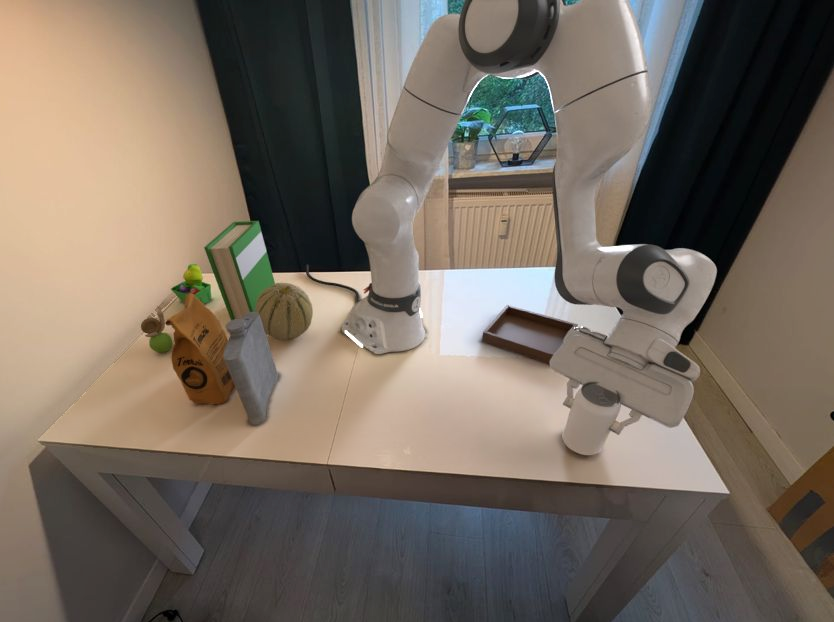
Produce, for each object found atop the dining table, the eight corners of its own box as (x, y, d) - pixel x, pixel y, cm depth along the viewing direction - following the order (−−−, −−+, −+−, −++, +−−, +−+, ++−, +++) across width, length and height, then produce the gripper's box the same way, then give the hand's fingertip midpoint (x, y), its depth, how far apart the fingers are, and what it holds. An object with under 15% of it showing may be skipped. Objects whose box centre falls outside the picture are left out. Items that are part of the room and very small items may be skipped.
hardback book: (258, 327, 106) (232, 246, 91) (233, 327, 107) (204, 247, 93) (278, 295, 120) (258, 220, 105) (256, 295, 121) (233, 221, 106)
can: (594, 427, 69) (614, 379, 62) (607, 457, 64) (631, 408, 57) (556, 427, 70) (572, 379, 63) (567, 456, 65) (586, 408, 58)
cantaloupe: (267, 322, 108) (252, 274, 99) (317, 316, 108) (308, 268, 99) (259, 354, 96) (241, 303, 87) (316, 347, 97) (305, 297, 87)
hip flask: (263, 424, 77) (233, 348, 65) (244, 425, 78) (210, 349, 65) (279, 373, 90) (257, 300, 78) (263, 373, 90) (238, 302, 78)
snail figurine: (182, 347, 102) (164, 309, 94) (159, 359, 98) (138, 321, 91) (174, 340, 105) (155, 303, 97) (151, 351, 101) (130, 314, 94)
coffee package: (184, 407, 83) (139, 325, 70) (208, 369, 93) (171, 291, 80) (227, 407, 82) (189, 324, 69) (246, 369, 92) (216, 290, 78)
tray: (481, 341, 93) (482, 332, 91) (505, 313, 102) (506, 304, 100) (555, 366, 84) (558, 356, 82) (575, 333, 92) (578, 324, 91)
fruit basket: (175, 302, 122) (160, 270, 115) (197, 290, 128) (185, 259, 121) (198, 310, 117) (184, 277, 110) (220, 297, 122) (208, 265, 115)
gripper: (570, 317, 66) (528, 385, 67) (713, 373, 53) (657, 455, 54) (576, 327, 70) (537, 390, 72) (709, 381, 58) (657, 456, 59)
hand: (589, 419), depth 63 cm, fingers closed on can, 6 cm apart
